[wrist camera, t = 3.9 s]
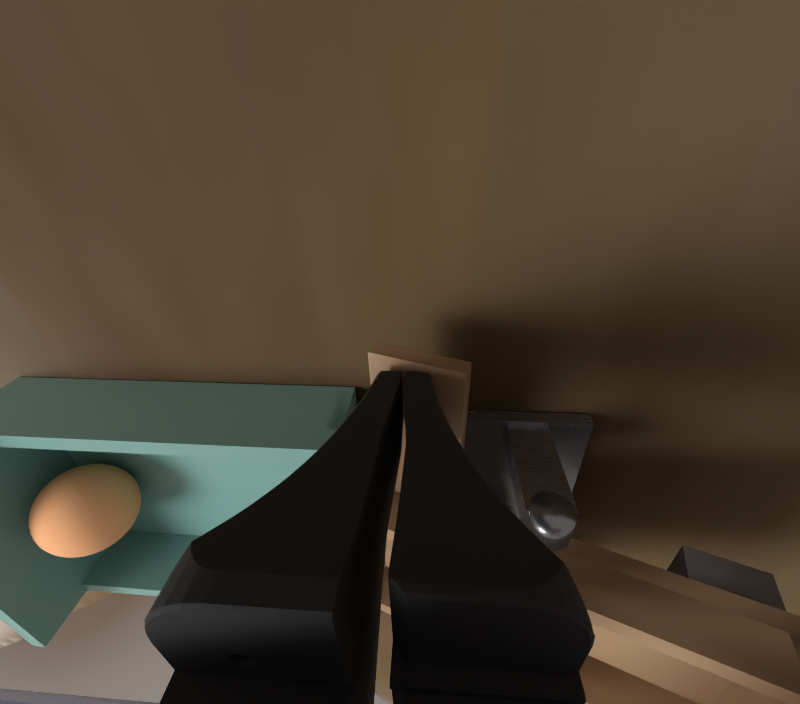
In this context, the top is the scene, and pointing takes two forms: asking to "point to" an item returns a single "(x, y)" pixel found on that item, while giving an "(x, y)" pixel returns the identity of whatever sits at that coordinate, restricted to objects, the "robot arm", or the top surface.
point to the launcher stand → (532, 465)
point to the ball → (84, 510)
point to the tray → (143, 474)
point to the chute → (646, 599)
